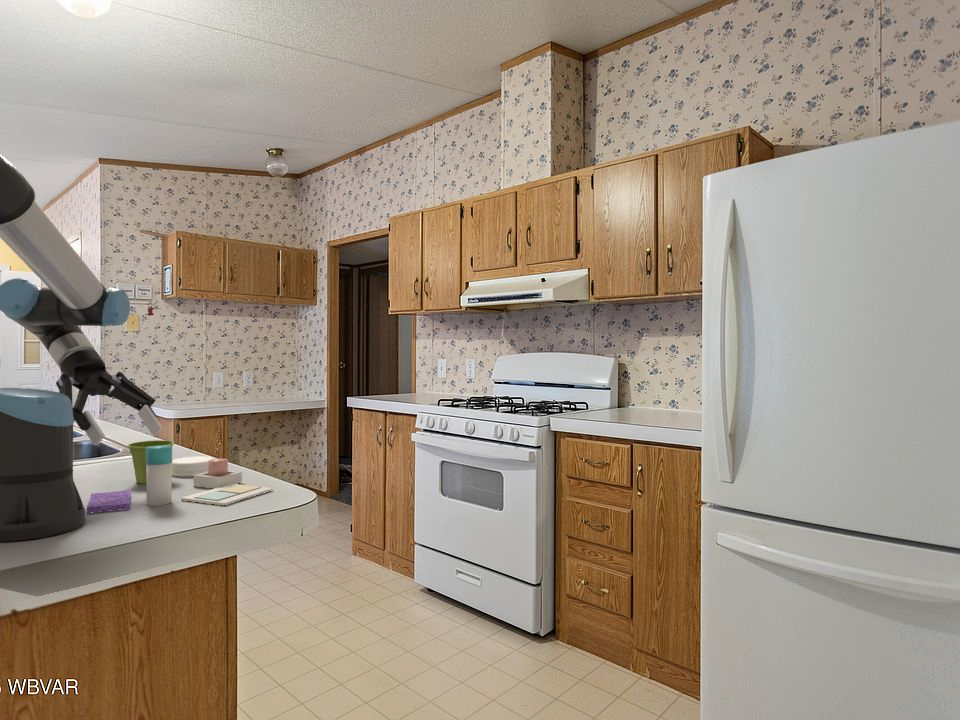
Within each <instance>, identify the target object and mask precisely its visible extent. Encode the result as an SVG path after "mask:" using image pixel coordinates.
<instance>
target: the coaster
mask: <svg viewBox="0 0 960 720" xmlns="http://www.w3.org/2000/svg"><path fill="white" fill-rule="evenodd" d="M211 459H215V458H214V457H212V456H202V455H200V456H199V455H198V456H196V455H195V456H183V457H178V458H174V459H172V477H176V476H178V477H179V478H191V476H194V475H197V474H201V473H205V472H208V461H209V460H211Z"/></svg>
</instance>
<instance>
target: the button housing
mask: <svg viewBox="0 0 960 720" xmlns="http://www.w3.org/2000/svg"><path fill="white" fill-rule="evenodd" d="M240 482H242V483H243V472H242V471H235V470H228V474H227V475H223V476H219V477H217V476H208V472H205V473H201V474H197V475H194V477H193V487H194V486H196V487H195V488H201V487H205V488H204V489H210V488H218V487H222V486H226V485H229V484H236V483H240ZM240 484H241V483H240Z"/></svg>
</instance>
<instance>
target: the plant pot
mask: <svg viewBox="0 0 960 720" xmlns="http://www.w3.org/2000/svg"><path fill="white" fill-rule="evenodd" d="M174 444H175V441H174V440H173V441H172V440H164V439H163V440H162V439H161V440H160V439H159V440H144V441H143V440H142V441H136V442H131V443H129V444H127V448H129V453H130V454H131V459H132V464H133V469H134V475H135V482H137V483H138V484H140V483H141V484H142V485H143V484H145V485H146V447H150V446H160V445H168V446H172V447H173V445H174Z"/></svg>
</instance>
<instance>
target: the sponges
mask: <svg viewBox="0 0 960 720" xmlns="http://www.w3.org/2000/svg"><path fill="white" fill-rule="evenodd" d="M131 495H132V491H131V489H125V490H124V489H123V490H117V491H116V490H115V491H108V492H106V491H105V492H95V493H91V494H90V498H89V501H88V503H87V506H86V514H87V513H90V514H92V513H91V512H99V513H101V512H100V511H109V510H119V509H128V510H130V509H131V500H132V498H131V497H132V496H131ZM119 511H120V510H119ZM109 512H110V511H109Z"/></svg>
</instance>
